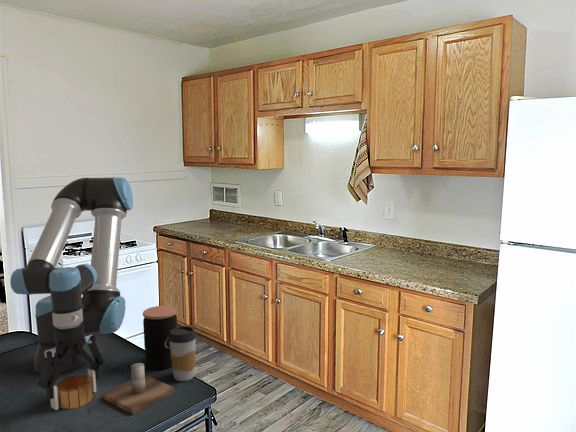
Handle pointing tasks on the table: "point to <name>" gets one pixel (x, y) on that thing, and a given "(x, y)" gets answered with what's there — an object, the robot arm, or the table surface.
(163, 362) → the coffee jar
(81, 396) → the orange ring
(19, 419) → the table surface
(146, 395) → the post block
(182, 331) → the coffee cup
